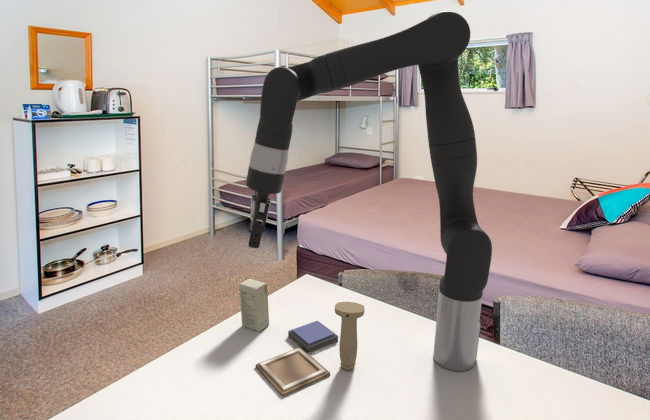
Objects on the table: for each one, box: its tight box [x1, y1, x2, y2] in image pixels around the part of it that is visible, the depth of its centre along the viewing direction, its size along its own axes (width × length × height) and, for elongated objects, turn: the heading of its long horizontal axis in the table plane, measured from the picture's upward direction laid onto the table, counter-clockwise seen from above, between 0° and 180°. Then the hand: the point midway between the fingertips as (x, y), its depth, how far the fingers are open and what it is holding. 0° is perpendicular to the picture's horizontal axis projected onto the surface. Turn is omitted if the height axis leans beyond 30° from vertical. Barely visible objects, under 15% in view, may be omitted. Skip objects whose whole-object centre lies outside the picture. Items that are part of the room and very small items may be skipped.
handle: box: [334, 301, 365, 372], centre depth 95 cm, size 5×6×15 cm
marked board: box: [255, 346, 331, 397], centre depth 95 cm, size 12×12×1 cm
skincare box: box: [238, 278, 270, 333], centre depth 112 cm, size 6×4×12 cm
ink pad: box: [287, 320, 339, 354], centre depth 107 cm, size 9×9×2 cm
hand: (253, 239), depth 92 cm, fingers open, 8 cm apart
